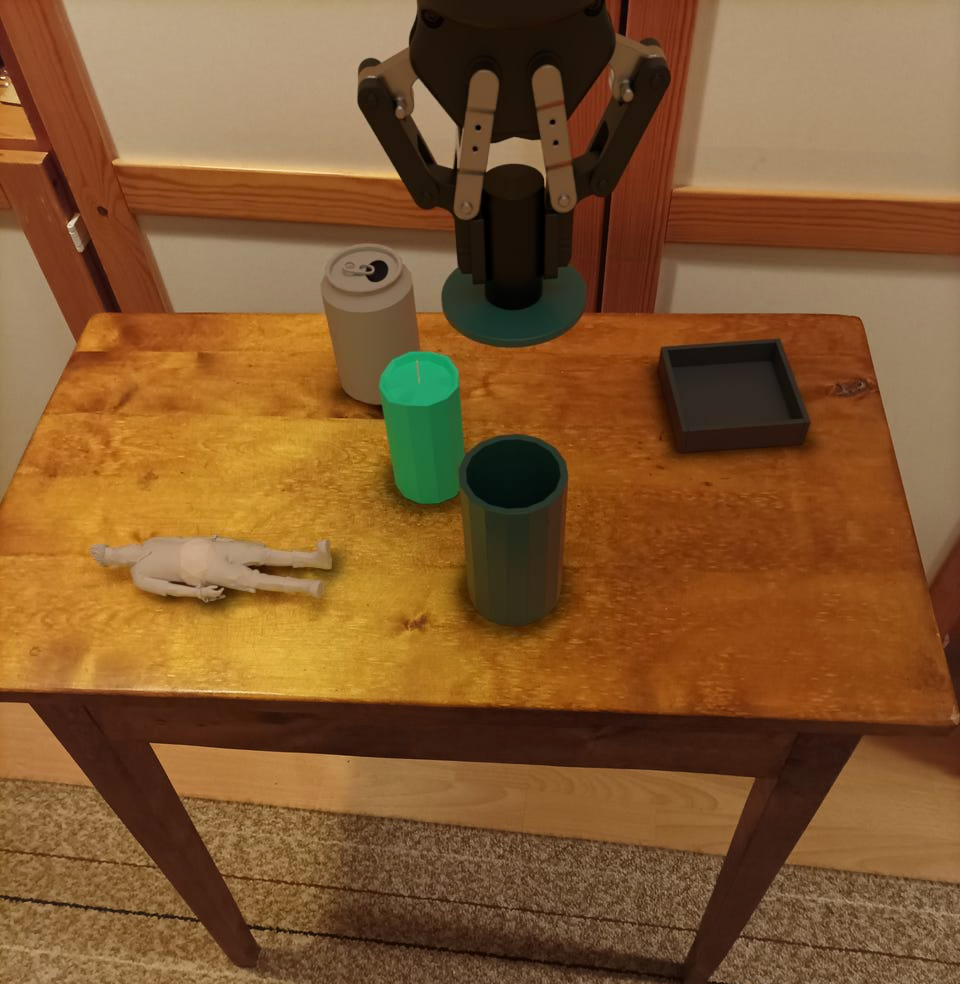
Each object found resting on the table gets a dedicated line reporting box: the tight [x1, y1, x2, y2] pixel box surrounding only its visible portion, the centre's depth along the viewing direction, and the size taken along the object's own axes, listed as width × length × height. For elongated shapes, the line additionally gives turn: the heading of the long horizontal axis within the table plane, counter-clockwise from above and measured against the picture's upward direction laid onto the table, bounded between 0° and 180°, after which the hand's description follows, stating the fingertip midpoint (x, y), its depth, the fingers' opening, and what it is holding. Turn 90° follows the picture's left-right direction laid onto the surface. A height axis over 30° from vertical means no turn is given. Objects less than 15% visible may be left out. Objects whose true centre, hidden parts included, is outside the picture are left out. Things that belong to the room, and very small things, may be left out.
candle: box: [379, 351, 466, 505], centre depth 70 cm, size 6×6×12 cm
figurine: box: [88, 534, 333, 603], centre depth 69 cm, size 7×4×18 cm
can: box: [320, 242, 422, 406], centre depth 77 cm, size 8×8×12 cm
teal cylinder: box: [459, 433, 569, 627], centre depth 64 cm, size 7×7×12 cm
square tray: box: [657, 337, 812, 454], centre depth 78 cm, size 10×10×2 cm
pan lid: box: [440, 163, 588, 349], centre depth 45 cm, size 8×8×7 cm
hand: (514, 270), depth 46 cm, fingers closed on pan lid, 3 cm apart
